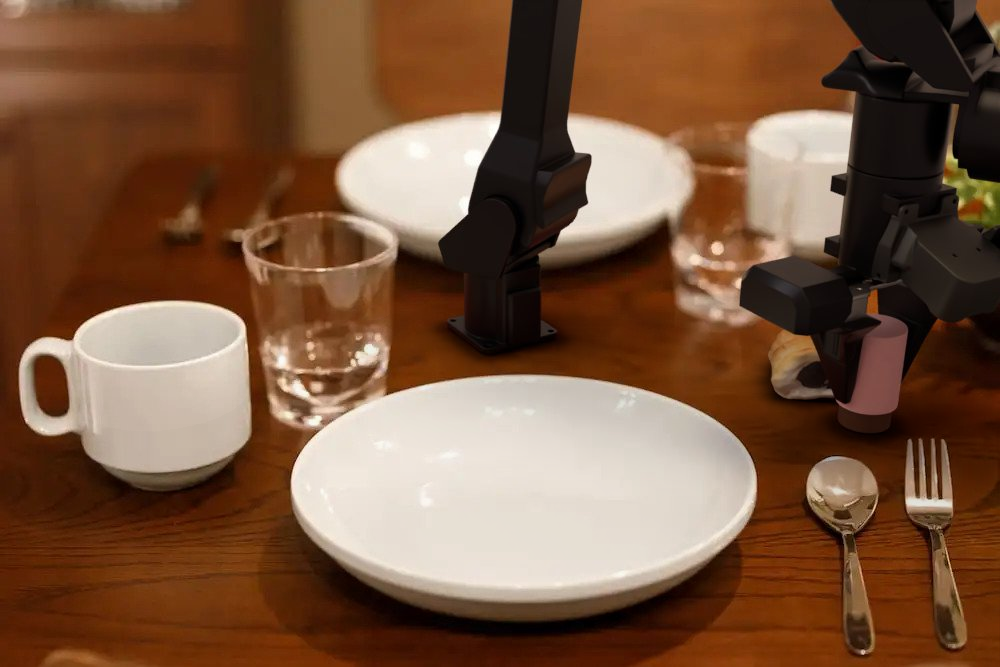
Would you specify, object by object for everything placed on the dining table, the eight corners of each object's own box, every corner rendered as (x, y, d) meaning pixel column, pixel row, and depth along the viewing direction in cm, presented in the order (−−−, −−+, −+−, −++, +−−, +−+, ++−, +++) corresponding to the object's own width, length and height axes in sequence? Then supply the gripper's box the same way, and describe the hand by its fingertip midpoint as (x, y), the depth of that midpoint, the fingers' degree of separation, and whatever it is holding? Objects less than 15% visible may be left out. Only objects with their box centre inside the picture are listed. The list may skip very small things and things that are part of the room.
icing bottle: (820, 416, 88) (831, 320, 85) (864, 403, 89) (876, 308, 87) (862, 441, 84) (875, 342, 82) (908, 426, 86) (921, 330, 83)
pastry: (762, 345, 98) (767, 298, 97) (854, 350, 98) (860, 303, 96) (770, 401, 90) (775, 350, 88) (870, 407, 89) (877, 356, 88)
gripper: (878, 229, 69) (846, 484, 75) (1109, 177, 78) (1063, 411, 84) (743, 175, 78) (725, 408, 84) (964, 134, 86) (932, 348, 93)
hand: (866, 394), depth 86 cm, fingers closed on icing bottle, 4 cm apart
